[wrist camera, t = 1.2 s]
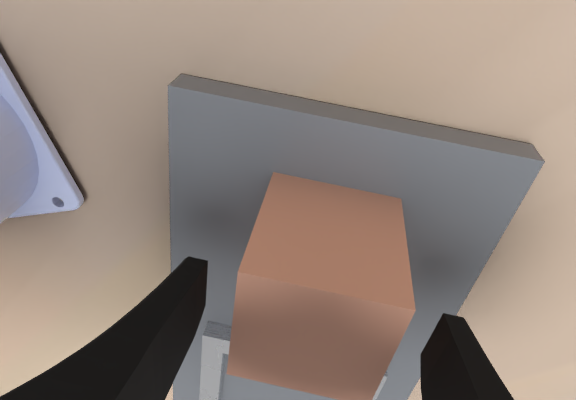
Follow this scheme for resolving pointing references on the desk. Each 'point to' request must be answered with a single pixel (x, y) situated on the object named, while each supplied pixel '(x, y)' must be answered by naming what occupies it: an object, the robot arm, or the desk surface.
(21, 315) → the desk surface
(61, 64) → the desk surface
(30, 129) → the robot arm
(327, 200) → the block
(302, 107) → the board
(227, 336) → the locating frame
